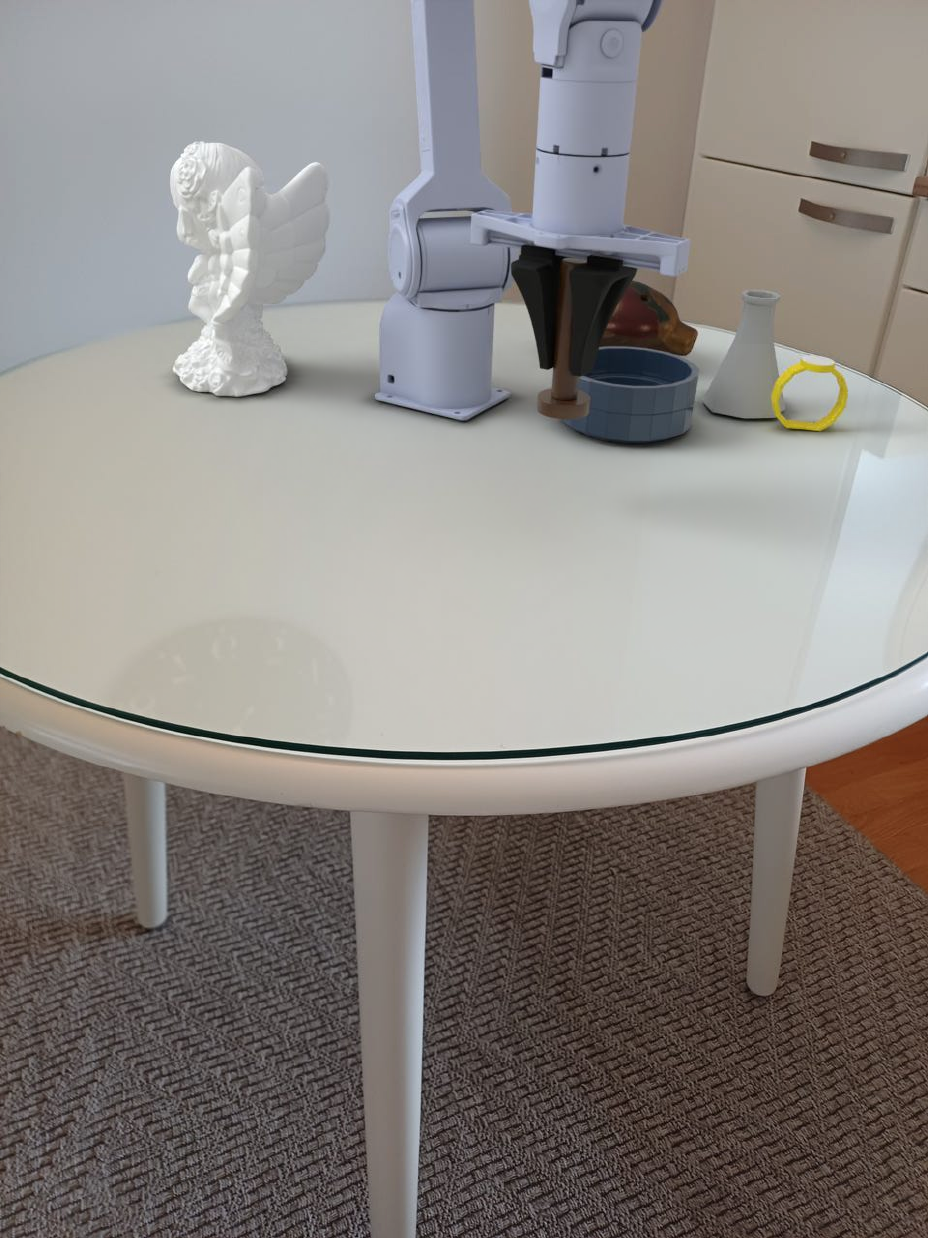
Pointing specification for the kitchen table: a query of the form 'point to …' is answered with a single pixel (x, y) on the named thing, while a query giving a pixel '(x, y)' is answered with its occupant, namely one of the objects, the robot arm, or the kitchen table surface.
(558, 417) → the brown wooden pestle
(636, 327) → the decorative turtle
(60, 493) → the kitchen table surface
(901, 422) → the kitchen table surface
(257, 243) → the cherub figurine
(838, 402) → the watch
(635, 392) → the bowl
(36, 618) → the kitchen table surface
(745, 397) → the flask
